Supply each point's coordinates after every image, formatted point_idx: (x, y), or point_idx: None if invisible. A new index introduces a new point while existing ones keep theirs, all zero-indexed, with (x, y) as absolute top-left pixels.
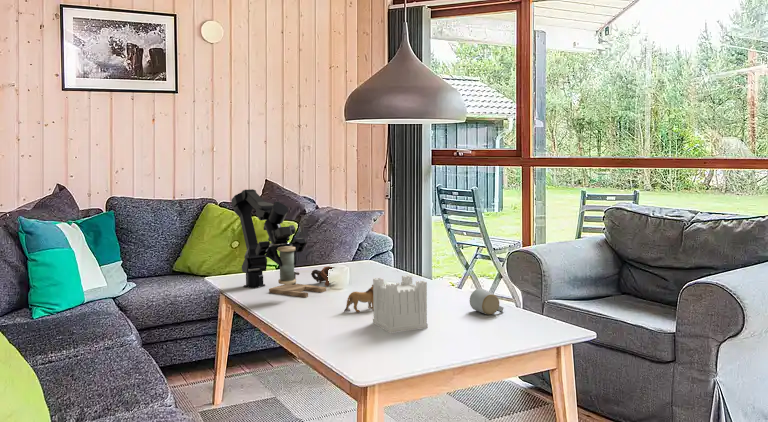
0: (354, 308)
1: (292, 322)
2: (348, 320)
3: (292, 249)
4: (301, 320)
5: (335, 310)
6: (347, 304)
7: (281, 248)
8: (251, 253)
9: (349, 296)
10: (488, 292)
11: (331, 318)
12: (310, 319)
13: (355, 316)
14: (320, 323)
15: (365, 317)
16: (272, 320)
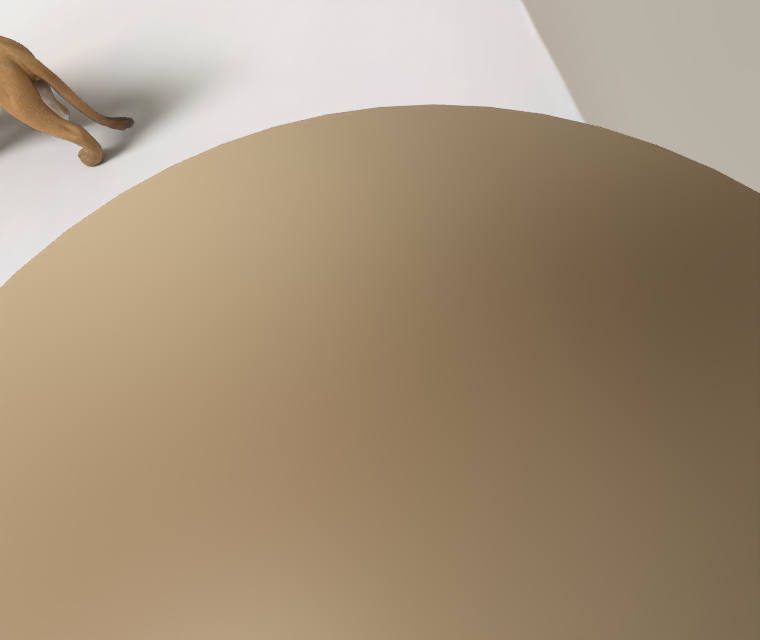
0: (67, 112)
1: (451, 38)
2: (185, 18)
3: (201, 194)
4: (401, 57)
5: None
6: (87, 107)
7: (753, 251)
8: None
9: (44, 65)
10: None
11: (246, 57)
12: (353, 62)
13: (120, 62)
14: (324, 5)
15: (87, 40)
16: (554, 84)
